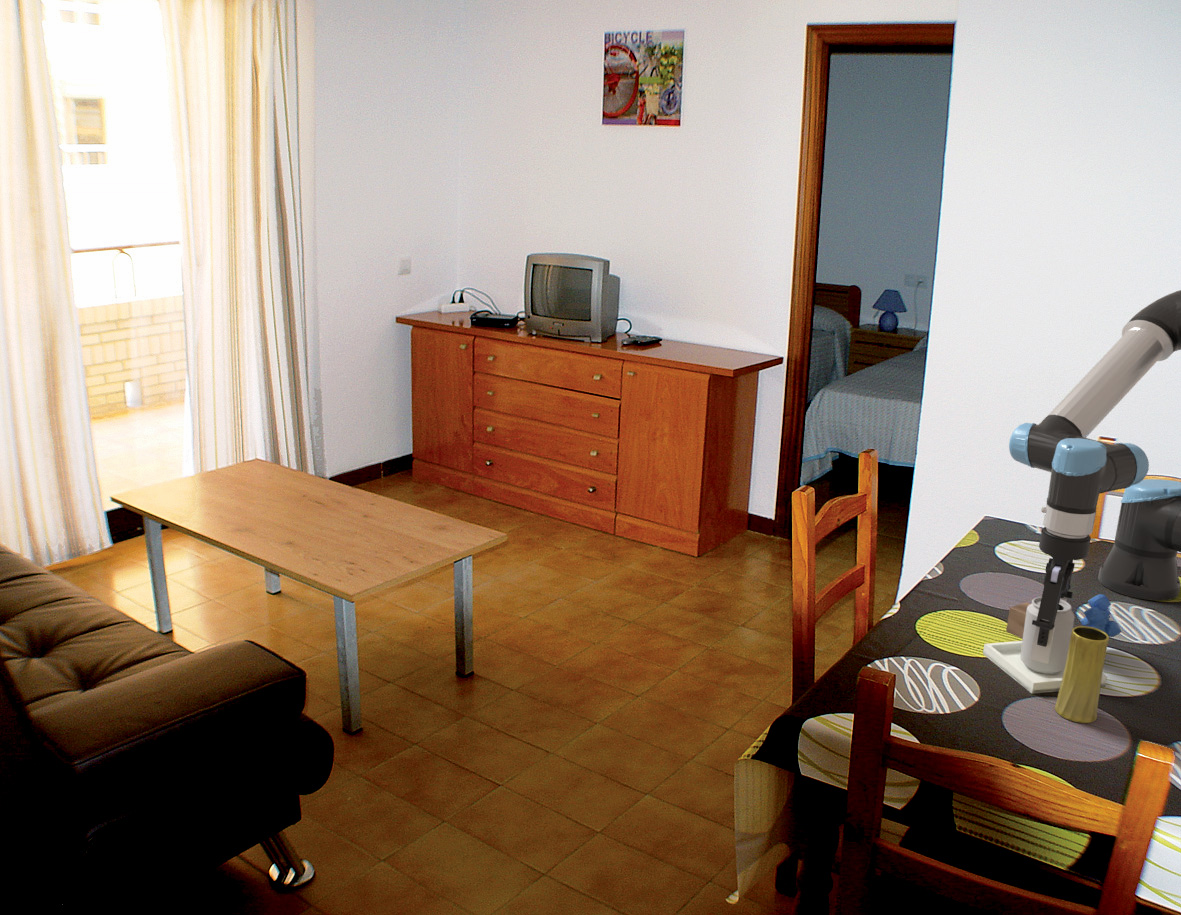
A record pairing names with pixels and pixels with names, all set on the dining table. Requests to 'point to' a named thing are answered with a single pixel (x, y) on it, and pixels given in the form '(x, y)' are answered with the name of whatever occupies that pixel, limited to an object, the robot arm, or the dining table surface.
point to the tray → (1023, 668)
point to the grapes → (1100, 616)
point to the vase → (1082, 675)
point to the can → (1060, 638)
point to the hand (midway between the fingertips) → (1046, 645)
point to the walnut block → (1017, 619)
